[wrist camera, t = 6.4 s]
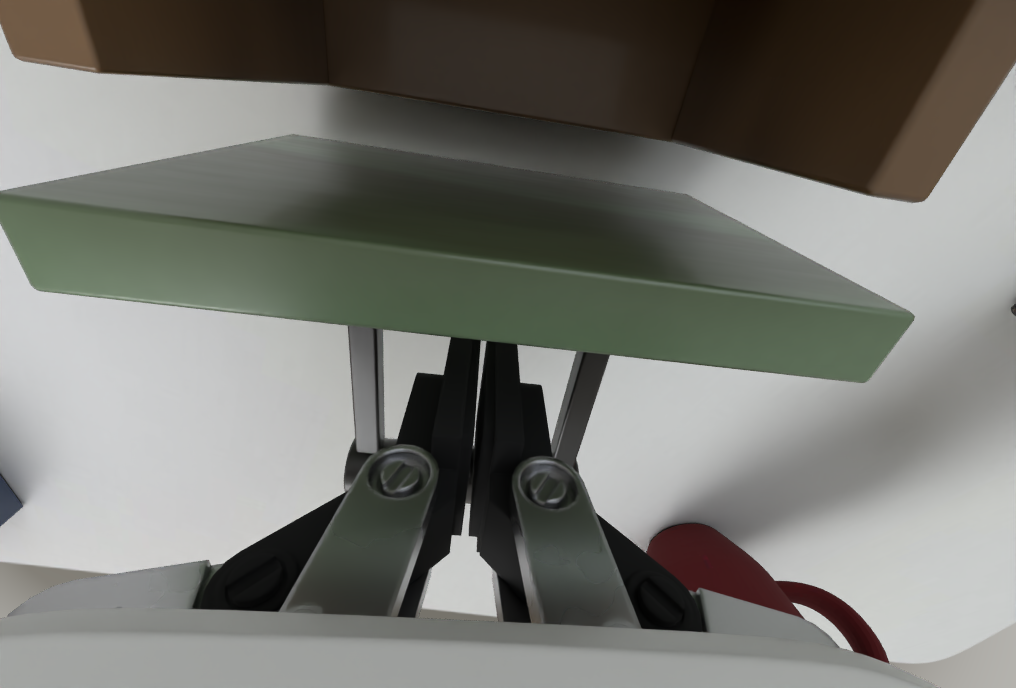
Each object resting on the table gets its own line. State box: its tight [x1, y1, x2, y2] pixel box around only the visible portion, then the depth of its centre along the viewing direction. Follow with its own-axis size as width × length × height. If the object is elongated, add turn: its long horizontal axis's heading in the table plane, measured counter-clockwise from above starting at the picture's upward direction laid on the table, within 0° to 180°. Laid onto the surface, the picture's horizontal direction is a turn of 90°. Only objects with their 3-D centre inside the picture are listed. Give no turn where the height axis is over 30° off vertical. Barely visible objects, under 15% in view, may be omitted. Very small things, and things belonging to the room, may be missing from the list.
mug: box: [647, 524, 889, 664], centre depth 19 cm, size 10×8×10 cm
